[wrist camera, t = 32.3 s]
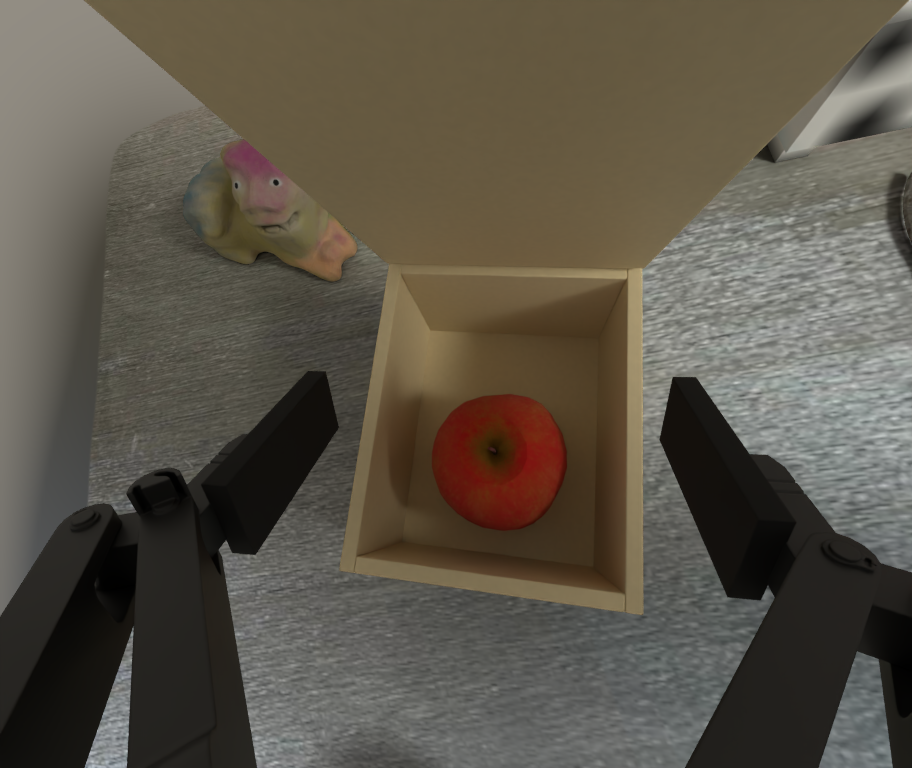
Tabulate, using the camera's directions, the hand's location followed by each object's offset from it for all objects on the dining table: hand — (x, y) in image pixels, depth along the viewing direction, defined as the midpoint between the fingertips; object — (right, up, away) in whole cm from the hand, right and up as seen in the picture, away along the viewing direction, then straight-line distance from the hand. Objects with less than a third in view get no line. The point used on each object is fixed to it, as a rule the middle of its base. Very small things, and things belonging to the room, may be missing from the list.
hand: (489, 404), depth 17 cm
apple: (+2, -5, +14) cm, 15 cm away
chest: (+2, -3, +15) cm, 16 cm away
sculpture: (-17, +14, +23) cm, 32 cm away
